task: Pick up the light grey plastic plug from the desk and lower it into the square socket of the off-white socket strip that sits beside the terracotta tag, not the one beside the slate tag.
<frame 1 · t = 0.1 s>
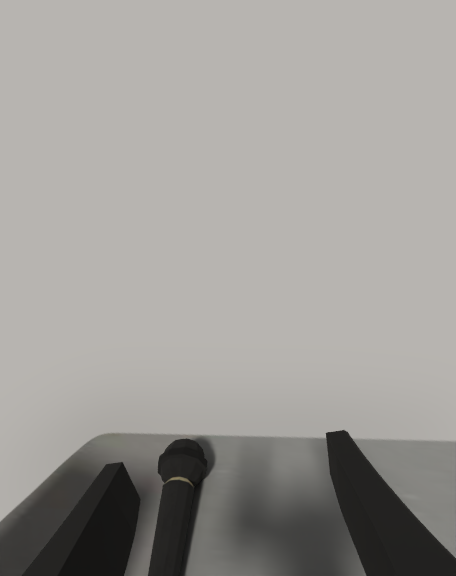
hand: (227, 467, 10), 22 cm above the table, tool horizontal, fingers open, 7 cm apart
microphone: (168, 553, 28), on the table
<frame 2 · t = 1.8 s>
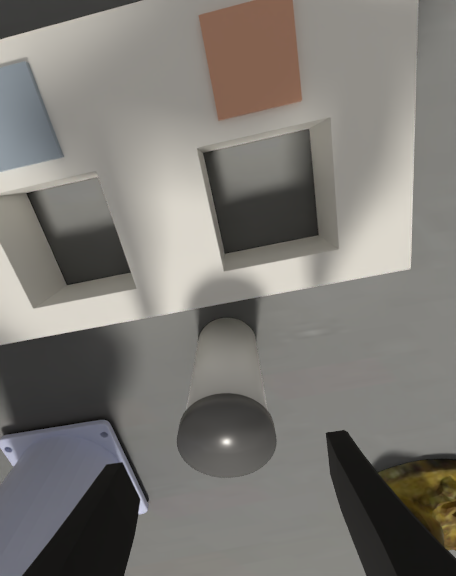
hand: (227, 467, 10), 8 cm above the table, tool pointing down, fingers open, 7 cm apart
mottled yellow lump: (439, 495, 24), on the table
plug: (227, 343, 18), on the table
socket strip: (168, 183, 14), on the table
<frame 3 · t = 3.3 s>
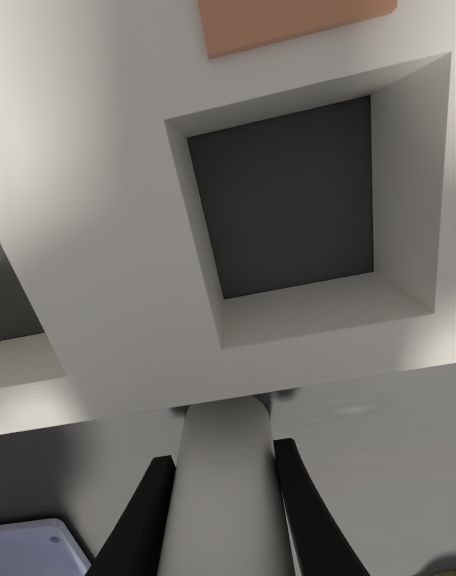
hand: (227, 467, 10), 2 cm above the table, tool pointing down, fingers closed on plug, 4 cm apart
plug: (227, 423, 12), on the table, touching gripper
socket strip: (129, 190, 9), on the table
when the fingers open (4 cm above the table, at t = 7.1 s): plug drops 2 cm, resting in socket strip.
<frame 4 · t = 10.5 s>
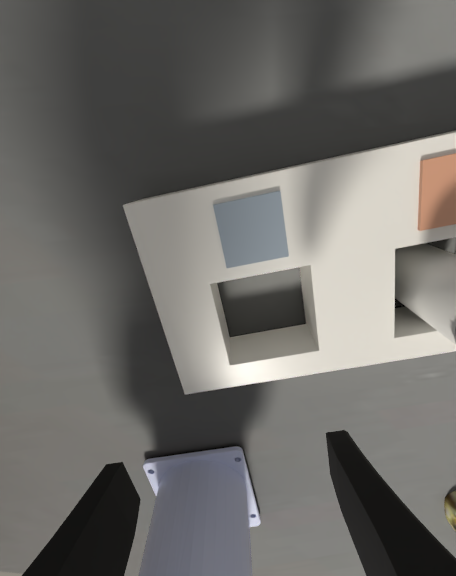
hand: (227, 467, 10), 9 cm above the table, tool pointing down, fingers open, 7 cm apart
plug: (410, 271, 17), resting in socket strip
socket strip: (333, 259, 17), on the table
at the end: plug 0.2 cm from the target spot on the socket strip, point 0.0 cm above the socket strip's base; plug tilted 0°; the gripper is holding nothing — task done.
